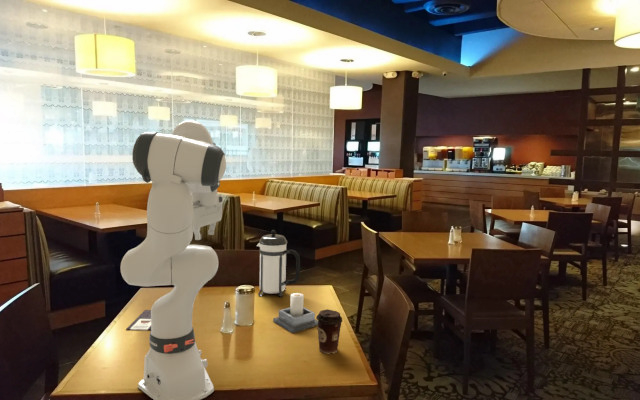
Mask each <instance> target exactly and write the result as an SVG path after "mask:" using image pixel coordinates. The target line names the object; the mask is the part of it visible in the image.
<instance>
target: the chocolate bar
mask: <svg viewBox="0 0 640 400" xmlns="http://www.w3.org/2000/svg"><path fill="white" fill-rule="evenodd" d="M126 331H151V309H144V310H143V311H142V313H141V314H140V315H138V316H137V317H136V318H135V320H134V321H132V322H131V323H130V324H129V325H128V327H127V328H126Z"/></svg>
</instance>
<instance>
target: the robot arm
mask: <svg viewBox="0 0 640 400" xmlns="http://www.w3.org/2000/svg"><path fill="white" fill-rule="evenodd" d="M131 156H132V163H133V166H134V168H135V169H136V171H137V173H138V174H139V175H140V176H141V178H142V181H143V182H145V183H146V184H147V183H152V184H151V188H150V190H149V193H148V197H147V198H148V199H147V206H146V222H147V225H146V226H147V231H146V237H145V239H144V240H143V241H142V242H141V243H140V244H138V245H137V246H136V247H134V248H131V249H129V250H128V251H127V252H126V253H125V254H124V256H123V257H122V259H121V262H120V274H121V276H122V279H123V280H124V282H126V283H127V284H128V285H130V286H137V287H138V286H139V287H156V286H157V287H159V286H173V288H172V290H171V291H169V292H168V293H166V294H163V295H162V296H160V297H159V298H158V299H156V301H155V302H154V303H153V304H152V305H151V309H150V310H151V330H150V332H149V336H148V338H149V339H148V341H149V350H148V351H147V353H146V354H145V355H144V360H143V361H144V363H143V364H144V365H143V378H142V379H141V380H140V381H139V382H138V385H137V388H138V389H139V390H141V391H142V392H143V393H144V394H146V395H147V396H148V397H150V398H151V399H153V400H203V399H205V398H207V397H208V396H209V395H211V394H212V393H213V392H214V391H215V388H214V387H215V386H214V384H213V382H212V379H211V378H210V376H209V373H208V372H207V369H206V368H207V367H208V365H209V364H208V360H207V358H205V359H203V358H202V357H201V355H202V350H201V349H198V345H197V342H196V335H195V332H194V327H193V310H194V303H195V301H196V297H197V296H198V293H199V291H200V290H201V289H202V288H203V287H204V285H205V284H207V283H208V281H210V280H212V279H213V278H214V277H215V276H216V274H217V272H218V269H219V257H218V254H217V252H216V250H214V249H213V248H212V246H208V245H204V244H203V245H202V244H191V242H192V240H193V237H194V240H195V241H200V240H202V238H203V237H202V234H201V232H200V231H201V228H202V227H205V226H206V227H207V226H208V225H209V227H208V228H209V229H208V230H207V235H208V236H213V235H214V234H215V228H216V225H217V223H218V222H221V220H222V217H223V202H224V196H222V195H220V194H218V188H219V187H220V186H221V180H222V178H223V177H224V175H225V172H226V170H227V169H226V168H227V159H226V154H225V152H224V151H223V149H222V148H221V147H219V146H218V145H216V143H215V142H214V141H213V139H212V136H211V134H210V132H209V130H208V129H207V128H206V127H205V126H204V125H203V124H202V123H200V122H198V121H196V120H185V121H182V122H180V123H178V124H177V125H176V126H175V128H174V129H173V131H172V134H167V133H159V132H158V131H145V132H142V133H141V134H140V135H138V136H137V138H136V140H135V143H134V144H133V147H132V154H131Z"/></svg>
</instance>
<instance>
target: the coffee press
mask: <svg viewBox="0 0 640 400" xmlns="http://www.w3.org/2000/svg"><path fill="white" fill-rule="evenodd" d="M287 244H288V240H287V239H286V237H285V236H284V235H282V234H277V231H276V230H275V229H272V230H271V231H270V234H265V235H263V236H261V238H260V239H259V242H258V243H257V245H256V247H259V291H258V293H257V295H258V296H259V297H262V296H263V295H264V294H271V295H272V294H277V295H278V297H279V296H280V297H279V298H283V297H282V296H284V294H283V292H285V291H286V290H287V287H286V285H292V284H293V285H294V284H296V283H297V282H298V281H299V278H300V273H301V272H300V271H301V258H300V255H299V253H298V252H297V251H296V250H293V249H287ZM287 254H290V255H293V256H294V257H295V278H293V279H286V277H287V276H286V275H287V272H286V271H287V270H286V269H287V267H286V266H287ZM285 289H286V290H285ZM284 290H285V291H284Z"/></svg>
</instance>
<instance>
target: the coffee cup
mask: <svg viewBox="0 0 640 400" xmlns="http://www.w3.org/2000/svg"><path fill="white" fill-rule="evenodd" d="M315 320H317V321H318V326H317V335H318V336H317V337H318V344H319V345H318V350H319V351H321V353H323V354H328V355H331V354H330V353H333V354H336V353H337V352H338V346H339V343H340V342H339V340H340V334H341V327H342V322H343V317H342V316H341V313H340V312H339V311H337V310H332V309H322V310H320V311H319V312H318V315H316V316H315ZM335 352H336V353H335Z"/></svg>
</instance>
